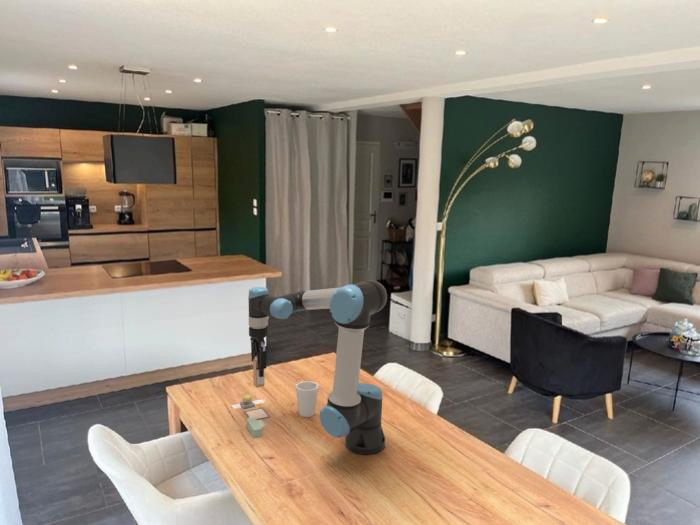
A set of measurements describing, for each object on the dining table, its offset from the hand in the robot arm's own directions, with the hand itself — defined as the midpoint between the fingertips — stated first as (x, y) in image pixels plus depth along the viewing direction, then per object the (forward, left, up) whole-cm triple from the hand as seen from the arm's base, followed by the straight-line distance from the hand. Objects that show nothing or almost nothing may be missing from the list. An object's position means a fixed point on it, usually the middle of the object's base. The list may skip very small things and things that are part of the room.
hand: (258, 381), depth 210 cm
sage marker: (-10, +5, -16) cm, 19 cm away
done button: (+12, +1, -13) cm, 18 cm away
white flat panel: (+2, 0, -17) cm, 17 cm away
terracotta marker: (0, 0, -2) cm, 2 cm away
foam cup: (-5, -19, -17) cm, 26 cm away
